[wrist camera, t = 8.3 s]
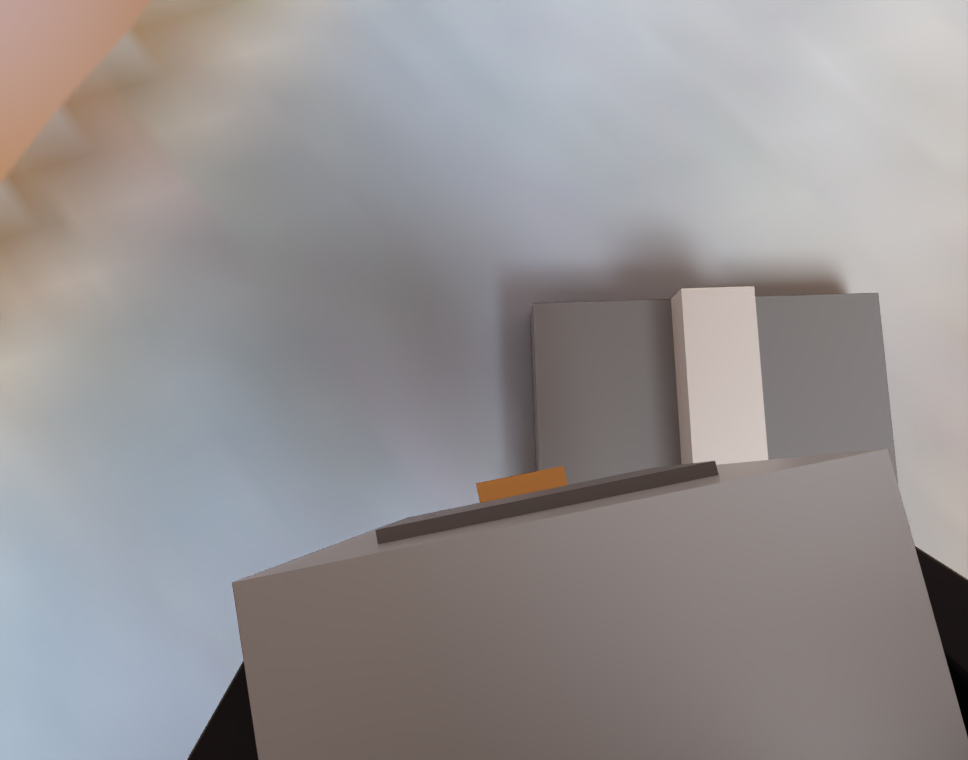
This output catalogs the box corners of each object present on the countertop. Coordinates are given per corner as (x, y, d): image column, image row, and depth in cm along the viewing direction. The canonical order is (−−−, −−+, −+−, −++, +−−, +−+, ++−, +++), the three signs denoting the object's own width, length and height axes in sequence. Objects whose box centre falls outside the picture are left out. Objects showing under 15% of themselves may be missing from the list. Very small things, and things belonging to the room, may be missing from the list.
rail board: (901, 786, 21) (959, 830, 19) (548, 795, 21) (556, 840, 19) (853, 305, 23) (900, 281, 21) (530, 314, 23) (535, 292, 21)
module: (689, 660, 16) (1029, 960, 6) (426, 715, 16) (311, 1115, 6) (641, 450, 16) (874, 396, 6) (388, 502, 16) (223, 529, 6)
